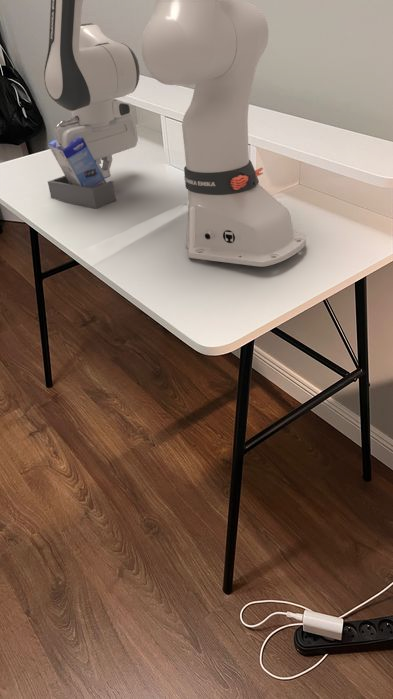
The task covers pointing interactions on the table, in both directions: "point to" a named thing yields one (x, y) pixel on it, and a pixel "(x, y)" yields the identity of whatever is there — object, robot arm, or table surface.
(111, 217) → the table surface
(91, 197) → the bay
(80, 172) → the ink cartridge box
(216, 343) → the table surface
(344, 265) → the table surface
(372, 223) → the table surface
